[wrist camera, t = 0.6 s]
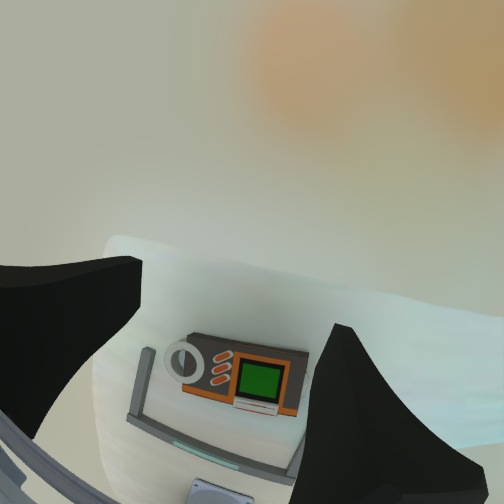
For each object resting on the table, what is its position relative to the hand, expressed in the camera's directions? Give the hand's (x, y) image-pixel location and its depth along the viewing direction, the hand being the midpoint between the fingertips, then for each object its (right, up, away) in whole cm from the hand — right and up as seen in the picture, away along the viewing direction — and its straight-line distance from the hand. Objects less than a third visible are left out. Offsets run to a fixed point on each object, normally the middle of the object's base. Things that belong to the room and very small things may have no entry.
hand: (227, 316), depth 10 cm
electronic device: (-1, -10, +20) cm, 23 cm away
